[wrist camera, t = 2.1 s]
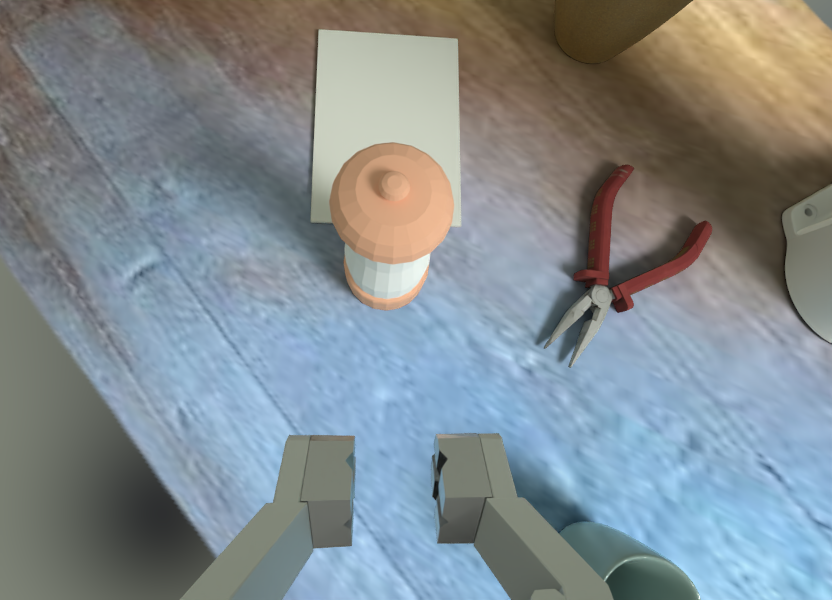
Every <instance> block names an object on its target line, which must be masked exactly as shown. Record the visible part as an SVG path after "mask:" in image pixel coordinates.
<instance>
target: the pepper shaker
mask: <svg viewBox="0 0 832 600" xmlns="http://www.w3.org/2000/svg"><path fill="white" fill-rule="evenodd" d="M329 205H330V212H331V219H332V222H333V224H334V226H335V228H336V230H337V232H338V234H339V236H340V238H341V239H342V240H343V241H344V242H345V249H344V251H345V257H344V268H345V275H346V279H347V282H348V284H349V286H350V288H351V290H352V292H353V294H354V295H355V296H356V297H357V298H358V299H359V300H360V301H361V302H362V303H364V304H366V305H368V306H370V307H372V308H374V309H380V310H392V309H398V308H400V307H402V306H404V305H406V304H408V303H410V302H411V301H412V300H413V299H414V298H415V297H416V296H417V295H418V293H419V291H420V289H421V287H422V285H423V283H424V281H425V279H426V277H427V275H428V268H429V260H430V253H431V252H432V251H433V250H434V249H435V248H436V247H437V246H438V245H439V244H440V243H441V242H442V241H443V240H444V238H445V236H446V234H447V232H448V230H449V228H450V226H451V224H452V219H453V212H454V200H453V195H452V189H451V185H450V182H449V180H448V178H447V176H446V174H445V172H444V171H443V169H442V167H441V166H440V165H439V164H438V163H437V162H436V161H435V160H434V159H433V158H432V157H431V156H430V155H429V154H427V153H425V152H423V151H421V150H419V149H417V148H415V147H413V146H411V145H405V144H400V143H395V142H390V143H381V144H374V145H372V146H369V147H367V148H365V149H362V150H360V151H358V152H356V153H355V154H354V155H353V156H352V157H351V158H350V159H348V160H347V161H346V162H345V163H344V164H343V166H342V167H341V169H340V171H339V173H338V174H337V176H336V178H335V180H334V182H333V184H332V190H331V195H330V200H329Z"/></svg>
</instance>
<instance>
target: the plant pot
mask: <svg viewBox="0 0 832 600" xmlns="http://www.w3.org/2000/svg"><path fill="white" fill-rule="evenodd" d="M691 1H693V0H555V17H554V32H555V37H556V40H557V42H558V44H559V46H560V47H561V49H562V50H563V51H564V52H565V53H566V54H567V55H569V56H570V57H572V58H573V59H575V60H577V61H580V62H583V63H590V64H594V63H601V62H604V61H606V60H609V59H610V58H612V57H614V56H616V55H617V54H619V53H621V52H622V51H624V50H626V49H627V48H629V47H630V46H632V45H634V44H635V43H637V42H638V41H640V40H641V39H643V38H644V37H646V36H647V35H648V34H650V33H651V32H653V31H654V30H655V29H657V28H658V27H660V26H661V25H662V24H664V23H665V22H666V21H668V20H669V19H670V18H671V17H673V16H674V15H675V14H677V13H678V12H679V11H680V10H682V9H683V8H684V7H685V6H687V5H688V4H689V3H690V2H691Z"/></svg>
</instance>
